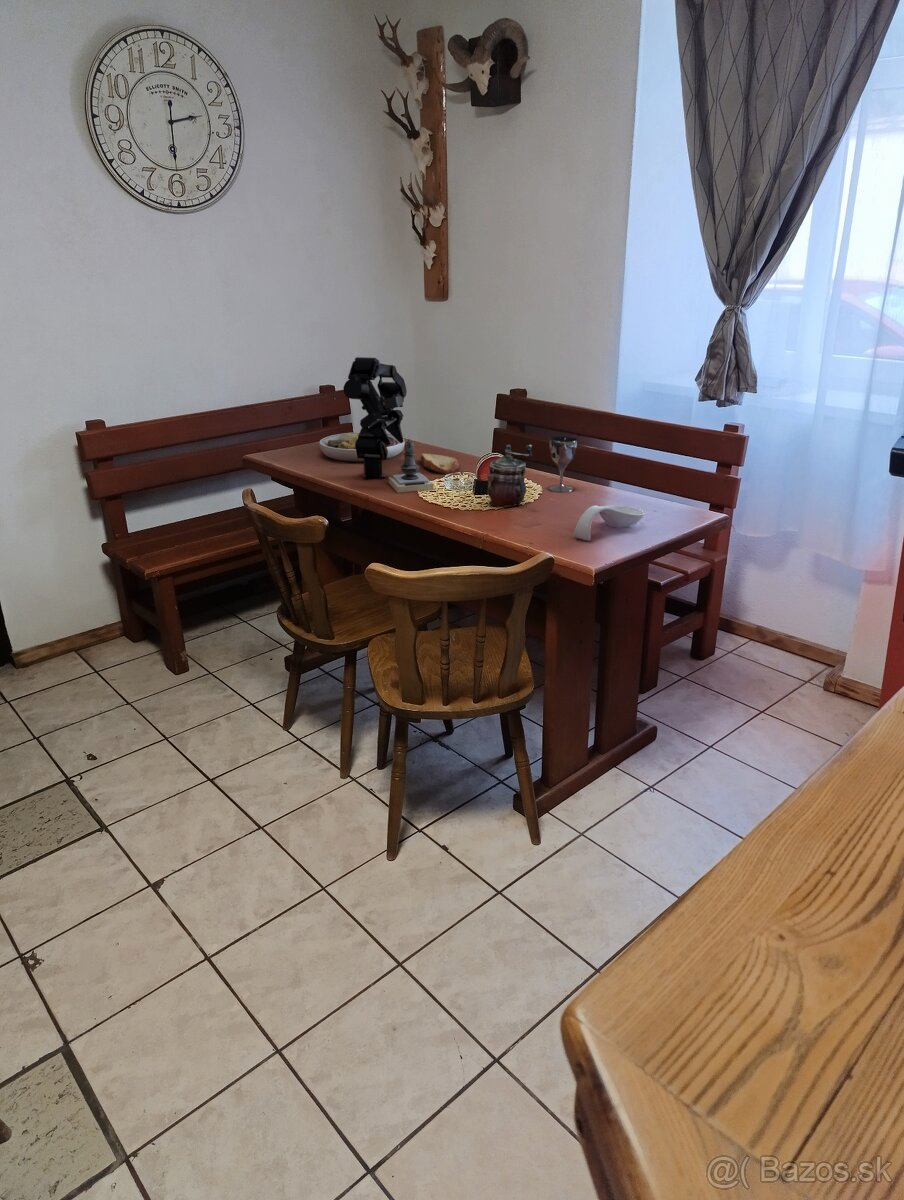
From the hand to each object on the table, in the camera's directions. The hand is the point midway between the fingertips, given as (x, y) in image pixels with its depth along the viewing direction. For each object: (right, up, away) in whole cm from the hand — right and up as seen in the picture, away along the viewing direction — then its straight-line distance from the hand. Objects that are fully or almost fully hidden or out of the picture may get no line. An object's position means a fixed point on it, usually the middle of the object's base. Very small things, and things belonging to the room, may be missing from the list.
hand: (396, 443), depth 247 cm
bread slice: (+12, -3, +25) cm, 28 cm away
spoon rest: (+57, -30, -38) cm, 75 cm away
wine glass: (+50, -14, -2) cm, 52 cm away
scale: (+4, -13, +2) cm, 14 cm away
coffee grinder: (+34, -21, -17) cm, 43 cm away
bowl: (-15, +4, +43) cm, 46 cm away
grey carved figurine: (+4, -10, +1) cm, 11 cm away
